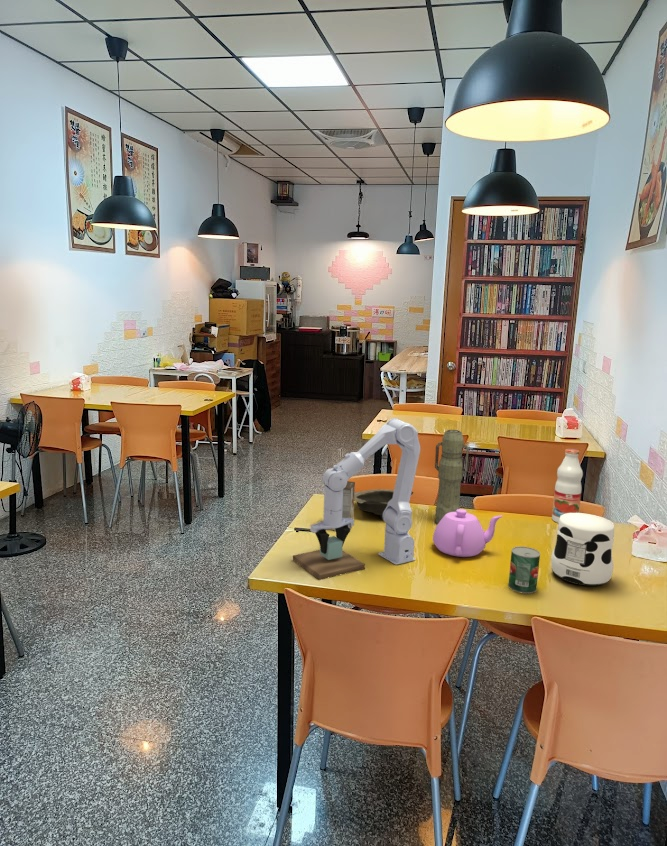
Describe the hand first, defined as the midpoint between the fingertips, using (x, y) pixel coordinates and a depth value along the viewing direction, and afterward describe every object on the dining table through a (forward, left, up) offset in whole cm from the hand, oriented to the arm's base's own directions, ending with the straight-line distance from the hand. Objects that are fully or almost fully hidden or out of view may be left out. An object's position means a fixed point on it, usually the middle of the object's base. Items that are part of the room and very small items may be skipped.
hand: (331, 550), depth 189 cm
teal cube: (0, 0, -2) cm, 2 cm away
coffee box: (+25, -21, -4) cm, 33 cm away
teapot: (-12, -45, -4) cm, 47 cm away
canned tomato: (-40, -40, -4) cm, 57 cm away
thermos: (+11, -58, -4) cm, 59 cm away
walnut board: (0, +1, -4) cm, 4 cm away
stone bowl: (+32, -43, -4) cm, 54 cm away
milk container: (-44, -61, -4) cm, 75 cm away
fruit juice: (-8, -101, -4) cm, 101 cm away
